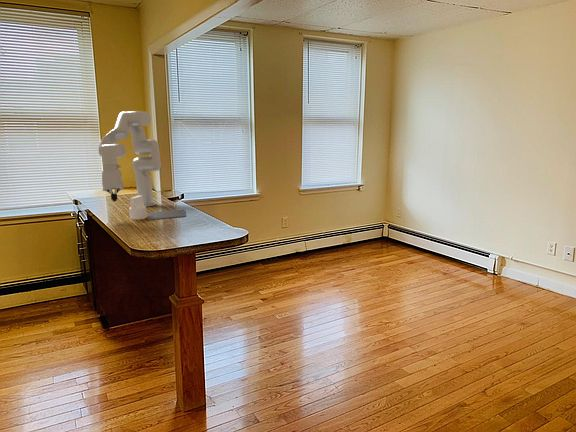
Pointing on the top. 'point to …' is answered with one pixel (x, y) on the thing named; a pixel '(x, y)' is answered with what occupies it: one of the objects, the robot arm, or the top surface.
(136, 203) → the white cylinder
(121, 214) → the top surface
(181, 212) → the mat
